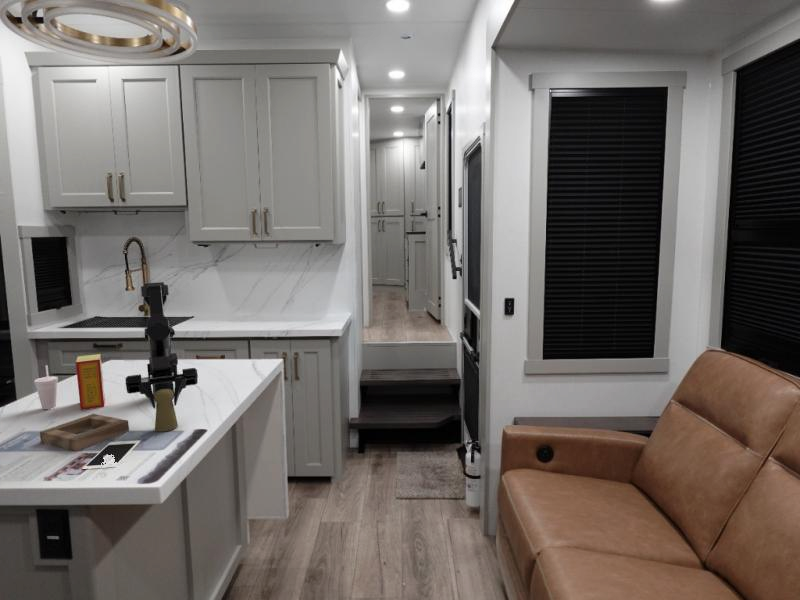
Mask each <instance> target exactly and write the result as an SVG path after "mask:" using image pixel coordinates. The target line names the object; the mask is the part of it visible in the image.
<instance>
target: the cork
mask: <svg viewBox="0 0 800 600" xmlns="http://www.w3.org/2000/svg"><path fill="white" fill-rule="evenodd" d="M154 401H155V420H154V421H155V423H154V430H155V431H157V432H167V431H172V430H174V429H177V428H178V427H179V423H178V418H177V415H176V411H175V406H174V392H173V391H172V390H171V389H161V390H158V391H156V392H155V394H154Z"/></svg>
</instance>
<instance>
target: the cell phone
mask: <svg viewBox="0 0 800 600" xmlns="http://www.w3.org/2000/svg"><path fill="white" fill-rule="evenodd" d="M140 442H141V440H125V441H124V440H123V441H121V440H120V441H110V442H108V444H106V445H105V446H104V447H103V448H102V449H101V450H99V451H98V453H97V454H96V455H95V456H94V457H92V459H90V460H89V461H88V462H86V464H85V465H84V466H82V468H81V470H82V469H87V468H101V467H102V466H103V465H104V464H103V463H102V462H104V459H103V455H106V454H108V455H111V454H112V455H114V457H115V458H114V459H115V462H117V463H118V464H119V463H120V462H121V461H122V460H123V459H124V458H125V459H126V458H127V456H129V454H130V453H131V452H132V451H133V450H134V449H135V448H136V447H137V446H138V445H139V443H140ZM112 457H113V456H112ZM125 459H124V460H125ZM124 460H123V461H124ZM123 461H122V462H123ZM115 462H114V463H115ZM122 462H121V463H122ZM101 463H102V465H101ZM121 463H120V464H121ZM105 464H106V463H105ZM118 464H117V465H118ZM120 464H119V465H120ZM119 465H118V466H119ZM115 466H116V465H115ZM103 467H105V466H103Z"/></svg>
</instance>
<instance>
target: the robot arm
mask: <svg viewBox="0 0 800 600" xmlns="http://www.w3.org/2000/svg"><path fill="white" fill-rule="evenodd" d="M140 293H141V298H143V300H144V303H145V305H147V307H148V309H149V316H150V317H148V319H147V320H146V327H145V328H144V340H145V341H147V342H148V347H149V357H148V361H149V363H147V364H146V365H147V366H146V367H147V376H145V377H142V374H132V375H127V376H126V377H125V386H126V387H125V388H126V393H127V394H137V393H140V395H144V396H145V397H146V398H147V399H148V401H149V403H150V404H151V406H152V407H153V410H154V409H155V410H156V402H155V400H154V394H155V392H156V391H158V390H161V389H171V390H172V391H173V392H174V398H173V405H174V407H175V406H177V404H178V399H179V398H180V395H181V392H182V391H183V389H186V388H187V387H188V386H194V385H197V384H198V381H199V380H198V377H199V376H198V369H197V368H196V367H190V368H182V373H179V374H178V364H179V362H178V361H179V359H178V353H177V352H174V353H173V352H172V351H171V338H173V337H174V336H176V331H175V329H174V328H173V326H171V325H170V320H169V319H168V317H166V316H165V312H164V306H165V305H166V303H167V298H168V297H167V296H169V295H170V293H169V285H168V284H164V282H163V281H160V282H159V281H158V282H144V285H143V286H140Z"/></svg>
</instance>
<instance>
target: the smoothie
mask: <svg viewBox="0 0 800 600" xmlns="http://www.w3.org/2000/svg"><path fill="white" fill-rule="evenodd" d="M44 366H45V373H46V376H44V377H41V378H40V377H39V378H37V379H35V380H34V381H33V382H34V383H33V384H34V385H35V386H36V390H37V394H38V398H39V401H40V405H41V409H42V410H43V409H50V410H52V409H51V408H54V407H56V408H57V399H58V398H57V397H58V394H57V393H58V392H57V391H58V381H59V377H58V376H52V375H51V376H50V375H49V367H48V364H46V365H44ZM54 409H55V408H54Z"/></svg>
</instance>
